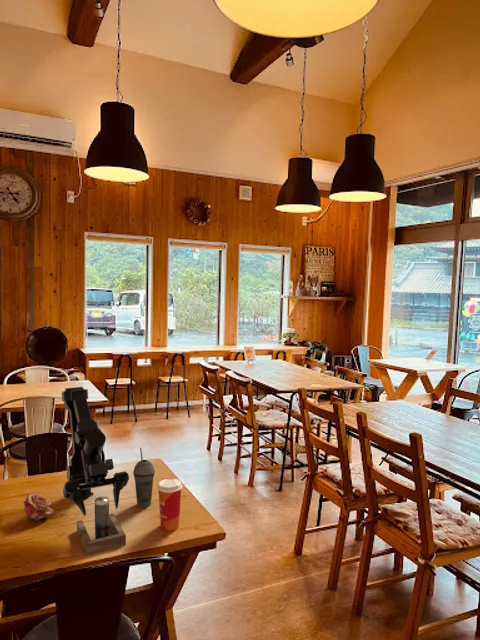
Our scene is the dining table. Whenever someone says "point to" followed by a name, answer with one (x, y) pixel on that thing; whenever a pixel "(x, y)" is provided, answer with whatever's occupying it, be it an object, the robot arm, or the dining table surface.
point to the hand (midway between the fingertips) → (101, 511)
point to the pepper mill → (101, 517)
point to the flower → (37, 506)
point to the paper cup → (169, 503)
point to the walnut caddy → (105, 542)
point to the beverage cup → (143, 482)
